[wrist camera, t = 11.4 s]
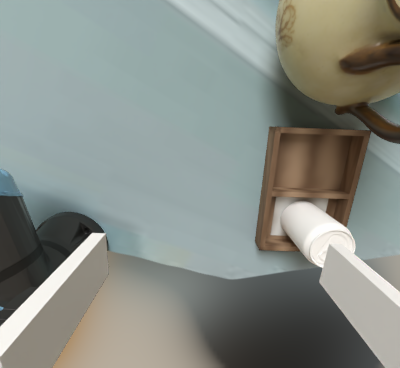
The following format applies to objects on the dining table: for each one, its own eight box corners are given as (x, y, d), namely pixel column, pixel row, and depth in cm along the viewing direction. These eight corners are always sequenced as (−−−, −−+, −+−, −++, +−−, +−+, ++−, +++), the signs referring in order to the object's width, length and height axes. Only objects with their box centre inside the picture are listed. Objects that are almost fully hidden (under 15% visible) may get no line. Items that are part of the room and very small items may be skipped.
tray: (255, 240, 47) (259, 250, 43) (269, 126, 40) (275, 126, 37) (329, 243, 47) (339, 252, 44) (356, 130, 40) (371, 130, 37)
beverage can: (325, 212, 44) (369, 243, 33) (300, 240, 46) (333, 279, 34) (296, 192, 43) (331, 217, 31) (271, 222, 45) (296, 256, 33)
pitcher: (343, -78, 32) (785, -699, 8) (416, 49, 36) (829, -88, 12) (232, 39, 36) (294, -121, 12) (311, 139, 41) (465, 163, 17)
